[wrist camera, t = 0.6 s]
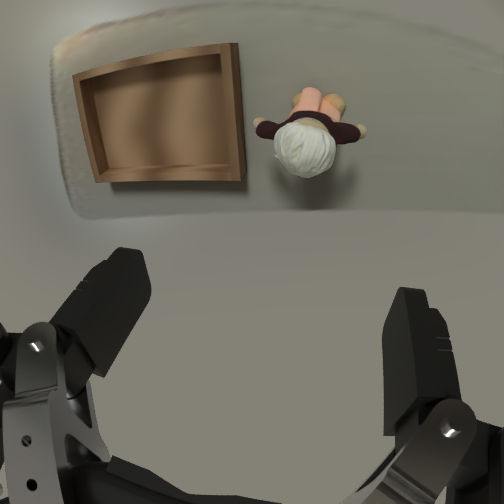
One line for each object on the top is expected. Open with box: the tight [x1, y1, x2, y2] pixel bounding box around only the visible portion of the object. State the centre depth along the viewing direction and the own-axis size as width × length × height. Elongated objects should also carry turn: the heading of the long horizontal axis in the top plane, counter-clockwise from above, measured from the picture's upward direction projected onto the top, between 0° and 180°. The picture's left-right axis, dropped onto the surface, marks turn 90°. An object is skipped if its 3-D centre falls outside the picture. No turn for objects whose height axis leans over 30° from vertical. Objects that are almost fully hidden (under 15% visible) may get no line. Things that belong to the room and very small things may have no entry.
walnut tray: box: [72, 43, 247, 183], centre depth 27 cm, size 16×12×2 cm
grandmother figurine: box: [253, 87, 367, 178], centre depth 20 cm, size 8×4×13 cm, turn 103°
